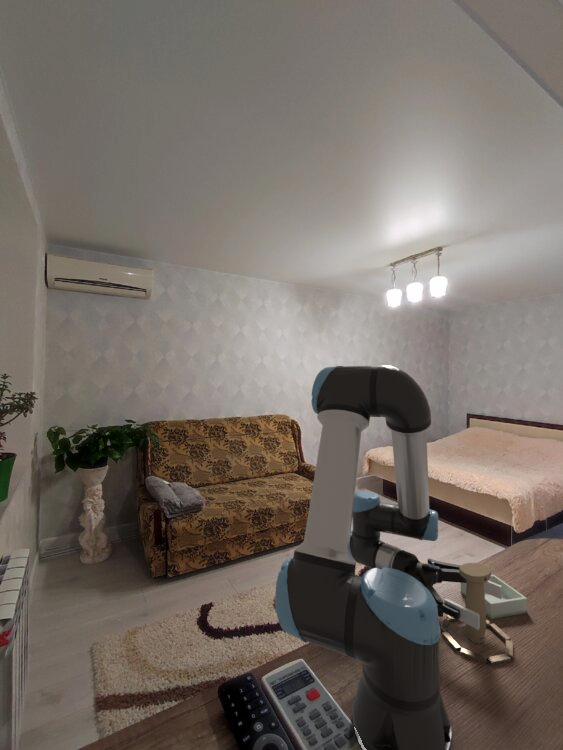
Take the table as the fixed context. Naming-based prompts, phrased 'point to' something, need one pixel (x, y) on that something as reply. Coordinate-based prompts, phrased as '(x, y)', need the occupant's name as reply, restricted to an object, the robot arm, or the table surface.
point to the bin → (502, 601)
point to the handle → (476, 596)
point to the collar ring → (474, 656)
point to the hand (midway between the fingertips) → (491, 606)
